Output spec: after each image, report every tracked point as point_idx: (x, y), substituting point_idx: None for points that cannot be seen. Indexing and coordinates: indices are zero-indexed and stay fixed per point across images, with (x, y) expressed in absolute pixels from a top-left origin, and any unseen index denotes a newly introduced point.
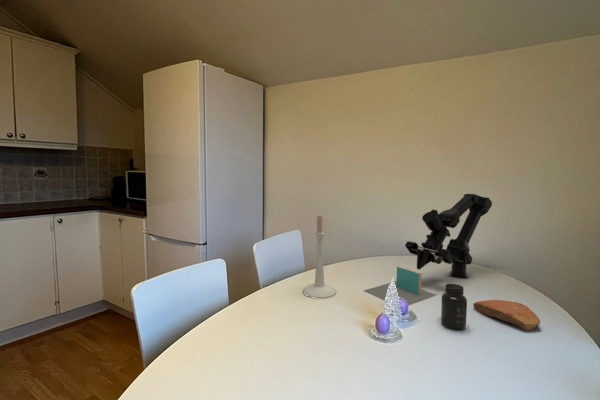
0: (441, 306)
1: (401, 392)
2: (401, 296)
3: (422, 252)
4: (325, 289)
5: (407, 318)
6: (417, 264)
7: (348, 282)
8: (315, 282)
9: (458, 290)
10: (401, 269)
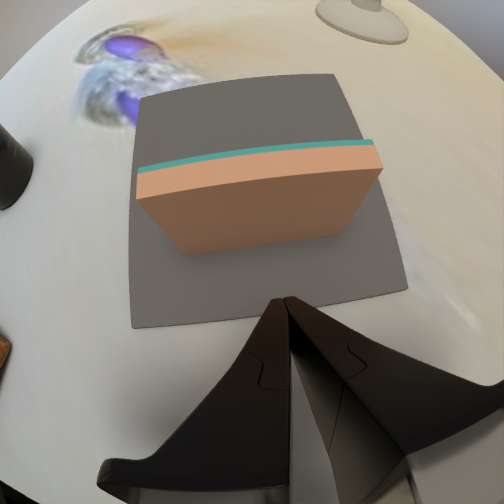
0: (4, 129)
1: (40, 40)
2: (211, 149)
3: (373, 463)
4: (340, 4)
5: (100, 95)
6: (302, 308)
7: (431, 98)
8: None
9: None
10: (322, 148)
